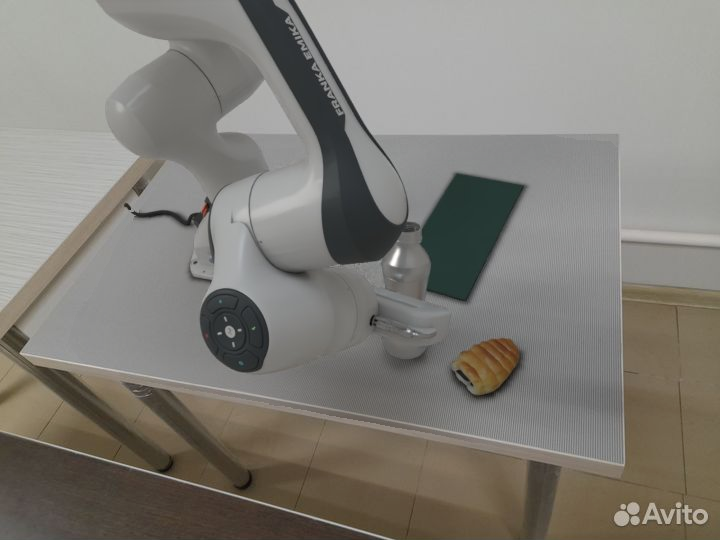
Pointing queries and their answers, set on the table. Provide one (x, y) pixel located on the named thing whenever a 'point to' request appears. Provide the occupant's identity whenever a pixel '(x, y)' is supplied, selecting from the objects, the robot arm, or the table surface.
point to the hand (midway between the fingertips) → (390, 296)
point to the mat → (465, 231)
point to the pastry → (486, 365)
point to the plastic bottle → (407, 279)
